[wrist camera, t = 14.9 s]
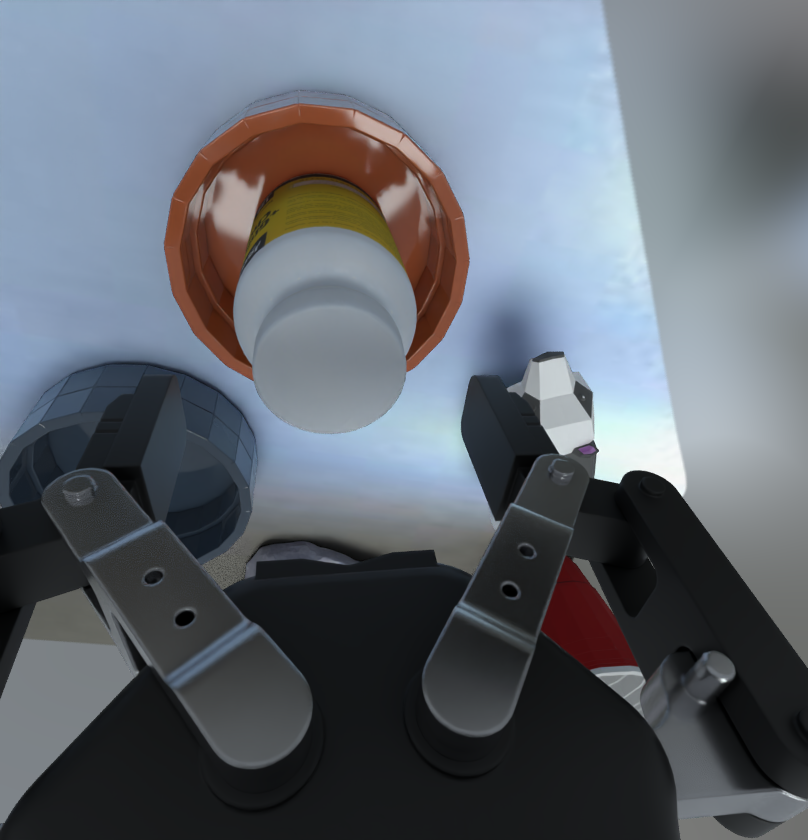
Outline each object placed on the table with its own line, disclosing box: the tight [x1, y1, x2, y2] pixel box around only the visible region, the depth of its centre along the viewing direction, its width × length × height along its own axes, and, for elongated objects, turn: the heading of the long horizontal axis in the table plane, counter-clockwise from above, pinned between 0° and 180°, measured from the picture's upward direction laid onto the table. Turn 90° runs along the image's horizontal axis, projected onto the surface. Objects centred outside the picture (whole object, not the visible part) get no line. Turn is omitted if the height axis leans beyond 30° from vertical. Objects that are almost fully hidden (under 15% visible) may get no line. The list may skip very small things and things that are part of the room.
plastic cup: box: [541, 556, 646, 717], centre depth 40 cm, size 11×11×12 cm
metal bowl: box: [0, 364, 257, 565], centre depth 29 cm, size 12×12×4 cm
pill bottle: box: [233, 173, 417, 434], centre depth 20 cm, size 6×6×12 cm
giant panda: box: [488, 352, 599, 530], centre depth 29 cm, size 15×6×10 cm, turn 10°
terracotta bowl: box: [164, 90, 470, 381], centre depth 23 cm, size 12×12×4 cm
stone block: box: [245, 541, 359, 579], centre depth 40 cm, size 12×5×10 cm
